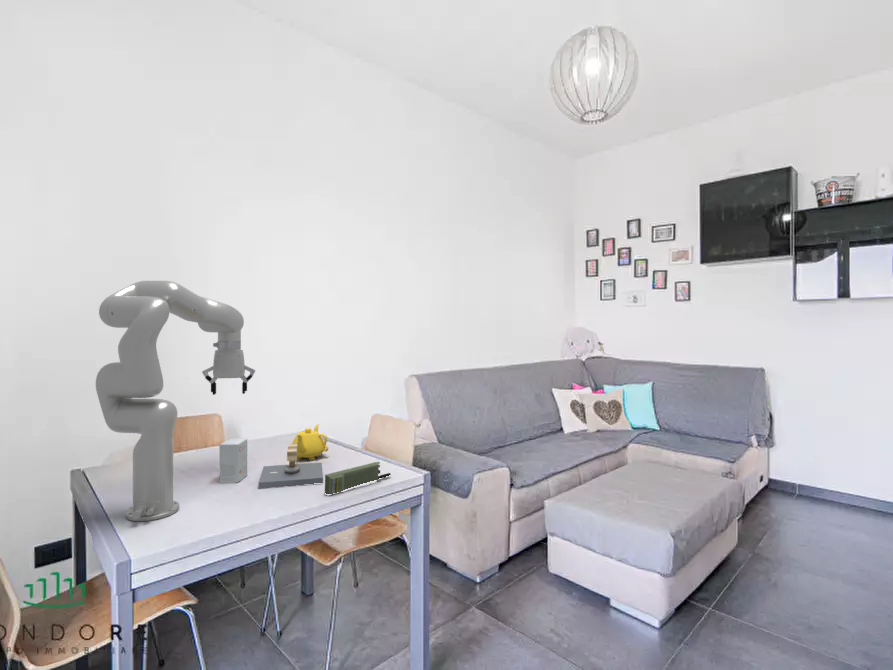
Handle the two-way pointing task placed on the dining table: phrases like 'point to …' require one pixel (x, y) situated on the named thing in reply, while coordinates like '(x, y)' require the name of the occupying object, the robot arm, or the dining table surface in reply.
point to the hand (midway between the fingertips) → (229, 393)
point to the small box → (233, 460)
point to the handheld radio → (352, 477)
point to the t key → (292, 459)
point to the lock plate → (290, 475)
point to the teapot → (310, 443)
